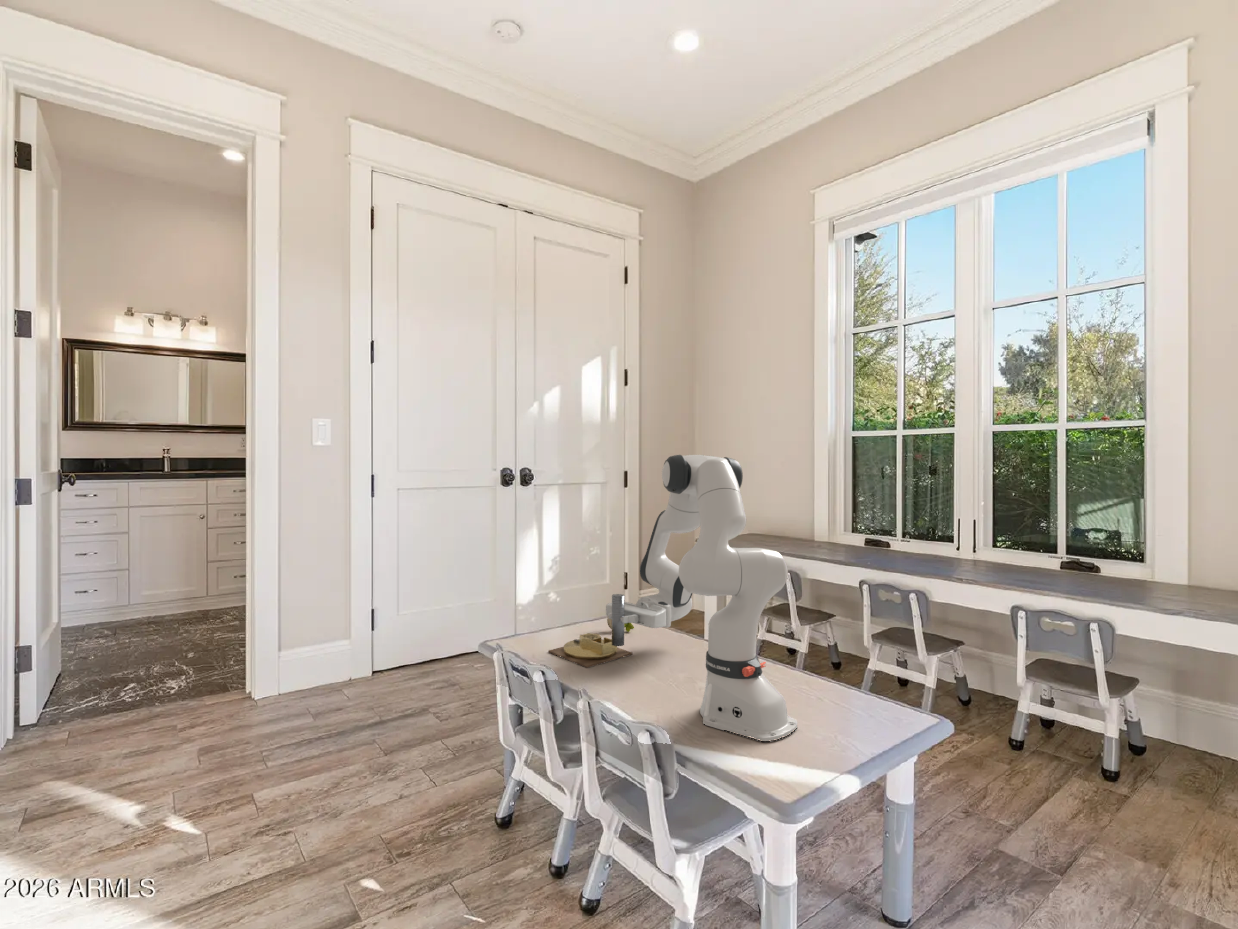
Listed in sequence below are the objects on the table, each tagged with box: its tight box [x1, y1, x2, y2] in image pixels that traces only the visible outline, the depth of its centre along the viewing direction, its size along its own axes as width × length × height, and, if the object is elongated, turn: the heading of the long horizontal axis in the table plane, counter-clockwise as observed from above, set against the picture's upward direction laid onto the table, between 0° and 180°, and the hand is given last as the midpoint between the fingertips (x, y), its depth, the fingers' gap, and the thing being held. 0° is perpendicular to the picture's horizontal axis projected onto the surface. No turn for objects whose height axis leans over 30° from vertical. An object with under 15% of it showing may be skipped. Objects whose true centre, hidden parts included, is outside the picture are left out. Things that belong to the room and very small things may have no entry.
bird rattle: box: [606, 617, 635, 633], centre depth 213 cm, size 6×11×9 cm
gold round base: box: [563, 632, 618, 660], centre depth 189 cm, size 17×16×4 cm
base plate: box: [547, 646, 633, 669], centre depth 189 cm, size 18×18×1 cm
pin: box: [611, 593, 626, 647], centre depth 179 cm, size 4×4×14 cm
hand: (615, 618), depth 178 cm, fingers closed on pin, 4 cm apart
